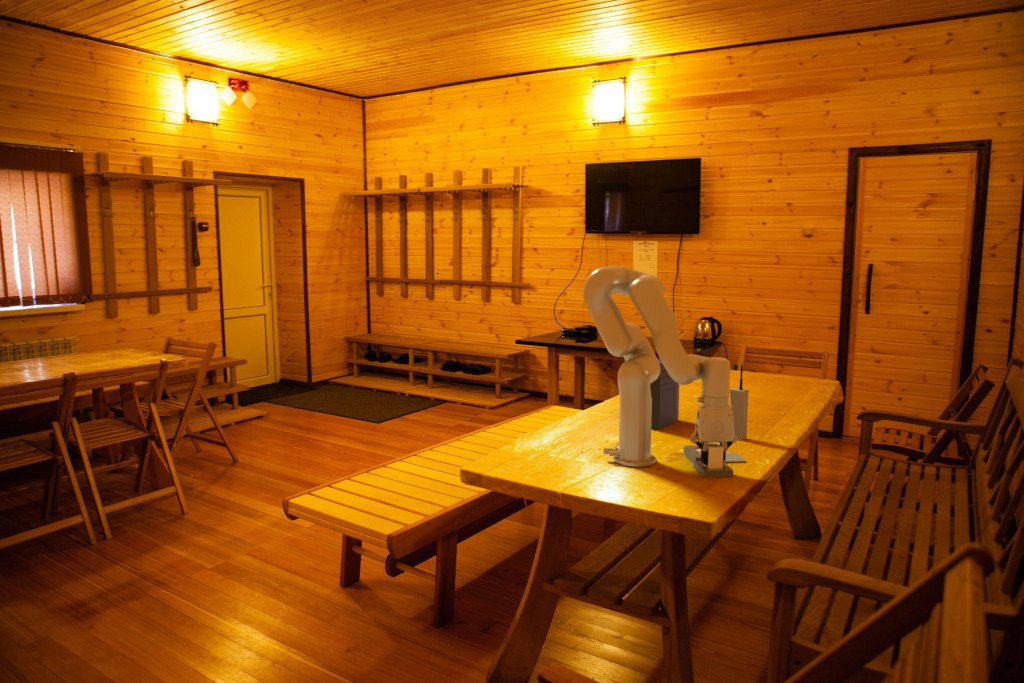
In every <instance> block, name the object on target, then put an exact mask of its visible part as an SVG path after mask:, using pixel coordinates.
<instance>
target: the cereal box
mask: <svg viewBox="0 0 1024 683" xmlns="http://www.w3.org/2000/svg"><path fill="white" fill-rule="evenodd" d="M657 359H658V361H659V364H660V374H659V377H658V378H657V379H656V380H655V381H654V382H653V383H651V384H650V391H651V400H652V418H651V430H653V429H655V430H654V431H661V430H662V428H663V429H664V427H665V428H667V427H668V426H670V425H672V424H674V423H676V422H678V421H679V418H680V417H679V415H680V413H679V412H680V410H679V408H680V384H678V383H676V382H675V381H674V380H673V379H672V378H671V377H670V375H669V374H668V372H667V370H666V369H665V367H664V365H663V364H662V362H661V360H660V358H657ZM677 420H678V421H677ZM675 421H676V422H675ZM666 426H667V427H666ZM660 429H661V430H660Z"/></svg>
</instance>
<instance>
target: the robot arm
mask: <svg viewBox="0 0 1024 683" xmlns="http://www.w3.org/2000/svg"><path fill="white" fill-rule="evenodd" d="M665 293H666V288H665V284H664V282H663V281H662V280H661V278H660V277H657V276H656V275H652V274H649V273H645V272H642V271H638V270H635V269H632V268H628V267H624V266H620V265H611V266H602V267H599V268H597V269H595V270H593V271H592V272H591V273H590V274H589V276H587V279H586V280H585V282H584V285H583V290H582V297H583V302H584V304H585V308H586V309H587V311H588V313H589V315H590V317H591V318H592V321H593V323H594V325H595V327H596V329H597V332H598V333H599V335H600V338H601V340H602V341H603V343H604V346H605V347H606V349H607V352H608V353H609V354H611V355H612V356H614V357H618V358H622V357H623V359H624V362H622V364H620V368H619V369H618V372H617V386H618V398H619V400H618V401H619V407H618V408H619V412H618V413H619V415H618V416H619V418H618V419H619V421H618V426H619V428H618V432H619V433H618V443H617V444H616V446H613V447H604V448H603V449H602V452H603V455H608V456H610V457H613V460H614V462H615V463H616V464H618V465H621V466H626V467H634V468H640V467H649V466H653V465H654V464H656V462H657V458H656V456H655V455H654V454H652V449H651V448H652V429H651V418H652V400H651V391H650V384H651V383H653V382H654V381H655V380H656V379H657V378H658V377H659V374H660V364H659V361H658V359H660V360H661V362H662V364H663V365H664V367H665V369H666V370H667V372H668V374H669V375H670V377H671V378H672V379H673V380H674V381H675V382H676V383H678V384H679V385H680V386H688V385H691V384H692V383H694V382H695V381H698V380H701V394H700V396H699V397H698V396H697V397H696V402H697V403H700V404H699V405H698V409H697V412H696V418H695V425H694V426H695V430H694V431H693V432H692V434H691V435H690V436H689V441H690V442H691V443H693V444H694V445H697V446H698V447H699V448H700V449H701V461H702V462H703V463H704V464H705V465H708V451H707V446H708V443H719V444H720V445H721V446H722V447H723V465H724V461H725V460H726V453H727V451H728V450H729V448H730V447H731V446H732V445H733V444H735V443H736V442H738V441H739V440H738V437H737V436H736V434H735V432H734V419H733V411H732V406H731V404H730V384H731V383H730V382H731V380H730V379H731V362H730V360H729V359H727V358H724V357H719V356H717V357H716V356H715V357H714V356H712V357H708V356H703V355H699V354H692V353H689V354H687V352H686V350H685V349H684V347H683V344H682V342H681V340H680V337H679V331H678V330H679V323H678V322H679V321H678V319H677V316H676V315H675V313H674V311H673V309H672V308H671V306H670V305H669V303H668V301H667V300H666V298H665ZM615 294H618V295H620V296H621V295H622V296H625V297H628V298H630V300H631V302H632V303H633V305H634V307H635V308H636V311H637V312H638V313H639V315H640V317H641V319H642V320H643V321H644V323H645V326H646V327H647V329H648V330H649V332H650V334H651V337H652V338H651V339H652V342H653V345H654V347H655V350H656V352H655V351H654V349H653V346H652V345H651V343H650V341H649V340H648V338H647V335H646V334H645V332H644V331H643V329H641V327H640V326H639V325H637V324H636V323H633V322H627V320H625V318H624V316H623V314H622V311H621V310H620V308H619V306H618V305H617V304H616V302H615V301H614V299H613V295H615ZM656 353H657V355H656ZM657 356H658V357H657Z"/></svg>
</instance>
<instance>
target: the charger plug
mask: <svg viewBox="0 0 1024 683" xmlns="http://www.w3.org/2000/svg"><path fill="white" fill-rule="evenodd" d="M707 451H708V465H705V464H704V463H703V465H704V466H705V467H706V468H707V469H723V447H722V446H721V445H720V442H708V446H707Z"/></svg>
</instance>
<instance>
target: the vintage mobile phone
mask: <svg viewBox="0 0 1024 683" xmlns="http://www.w3.org/2000/svg"><path fill="white" fill-rule="evenodd" d="M743 368H744V365H743V364H742V365H740V378H739V388H738V387H733V388H729V403H730V406H732V411H733V419H734V432H735V434H736V436H737V437H738V439H741V440H740V441H743V440H745V439H746V438H747V437H748V434H747V433H748V417H749V416H748V411H749V409H748V408H749V389H747V388H743V372H744V369H743Z"/></svg>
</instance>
